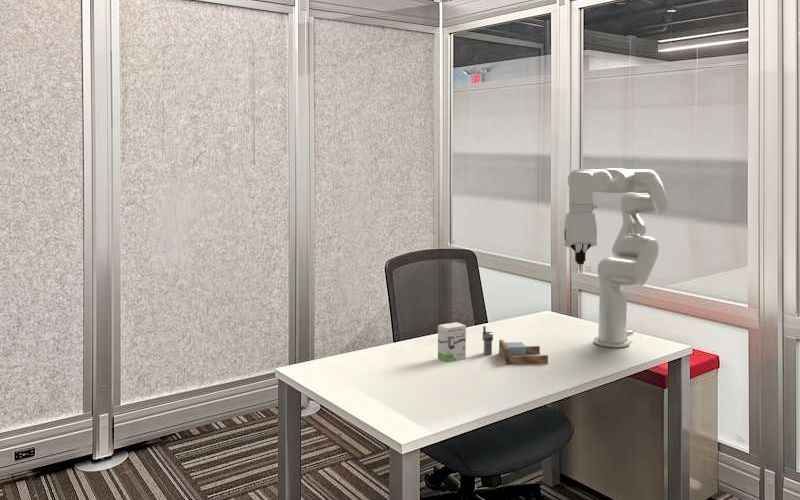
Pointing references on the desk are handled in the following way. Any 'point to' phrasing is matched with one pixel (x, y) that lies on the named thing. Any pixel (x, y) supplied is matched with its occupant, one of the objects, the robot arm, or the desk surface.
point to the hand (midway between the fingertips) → (580, 263)
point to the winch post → (487, 341)
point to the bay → (528, 359)
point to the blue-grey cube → (516, 348)
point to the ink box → (451, 342)
